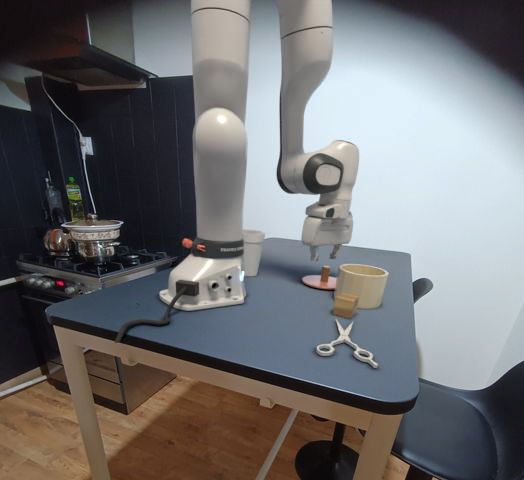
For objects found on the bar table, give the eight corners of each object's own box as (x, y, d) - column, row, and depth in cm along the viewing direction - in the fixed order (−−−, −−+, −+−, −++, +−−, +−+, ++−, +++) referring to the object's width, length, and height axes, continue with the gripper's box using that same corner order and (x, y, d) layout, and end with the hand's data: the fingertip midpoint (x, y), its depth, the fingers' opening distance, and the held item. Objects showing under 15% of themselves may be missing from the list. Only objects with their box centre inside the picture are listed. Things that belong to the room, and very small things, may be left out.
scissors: (315, 355, 56) (321, 314, 73) (315, 358, 56) (320, 317, 73) (377, 365, 54) (368, 321, 71) (376, 369, 54) (367, 324, 72)
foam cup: (263, 271, 108) (266, 231, 102) (260, 278, 100) (263, 235, 94) (235, 268, 109) (237, 228, 102) (230, 275, 100) (231, 232, 94)
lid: (327, 294, 91) (331, 274, 88) (292, 282, 99) (295, 264, 96) (354, 287, 99) (358, 269, 96) (320, 276, 107) (322, 259, 105)
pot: (364, 312, 79) (372, 278, 75) (324, 297, 87) (329, 267, 83) (389, 303, 87) (397, 272, 83) (350, 290, 95) (356, 262, 91)
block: (349, 318, 75) (353, 301, 73) (332, 314, 77) (335, 296, 75) (355, 313, 78) (359, 296, 76) (338, 309, 80) (341, 292, 78)
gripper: (344, 209, 98) (335, 255, 104) (301, 207, 85) (294, 259, 91) (362, 212, 94) (351, 259, 100) (320, 210, 81) (311, 265, 87)
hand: (323, 259), depth 95 cm, fingers open, 8 cm apart
